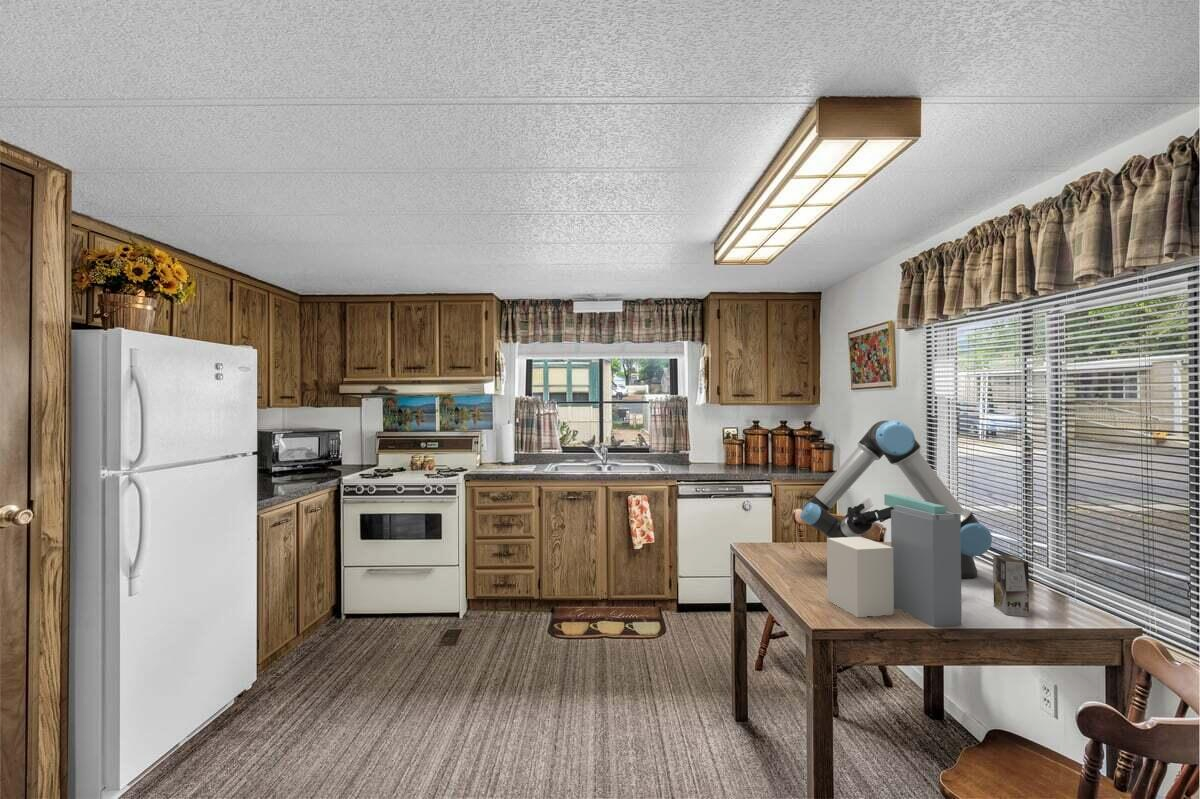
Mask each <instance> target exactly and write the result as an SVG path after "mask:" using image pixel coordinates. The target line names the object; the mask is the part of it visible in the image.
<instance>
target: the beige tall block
mask: <svg viewBox="0 0 1200 799" xmlns="http://www.w3.org/2000/svg"><path fill="white" fill-rule="evenodd" d="M826 568H827V569H826V577H827V579H826V581H827V583H826V584H827V585H826V589H827V590H826V591H827V593H826V600H827V602H829V603H830V602H831V603H830V604H832V603H833V604H832V605H834V604H835V606H836V605H837V606H836V607H837V608H839V607H840V608H839V609H841V608H842V609H841V610H843V609H844V610H843V611H845V612H847V613H848V612H849V614H850V613H851V615H852V614H853V615H852V616H854V617H855V618H857V617H860V618H868V617H867V616H873V617H882V616H881V615H886V616H893V615H892V614H894V615H895V613H894V612H895V608H894V573H893V547H891V545H890V546H889V545H887V544H884V543H881V542H879V541H878V542H877V541H876V540H875V541H874V540H872V539H869V538H866V537H863V536H859V537H841V538H827V537H826Z"/></svg>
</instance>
